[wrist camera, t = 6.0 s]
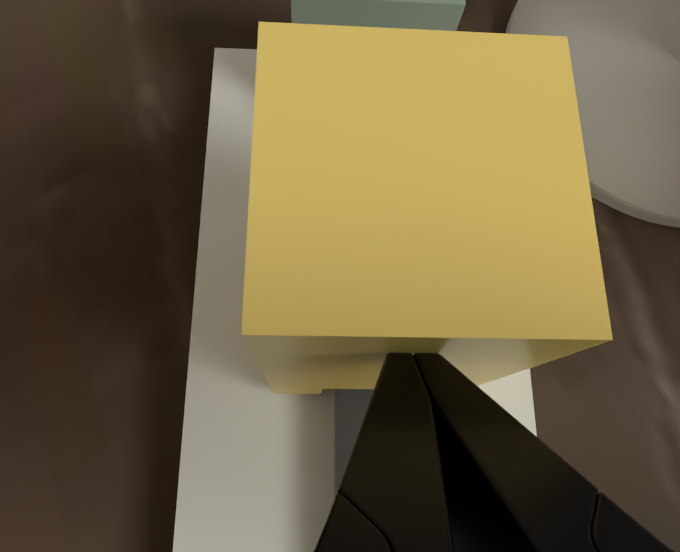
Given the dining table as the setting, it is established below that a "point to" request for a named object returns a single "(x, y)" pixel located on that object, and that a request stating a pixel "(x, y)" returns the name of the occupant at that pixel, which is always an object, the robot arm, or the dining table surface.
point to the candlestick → (622, 95)
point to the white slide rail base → (237, 360)
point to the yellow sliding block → (416, 205)
